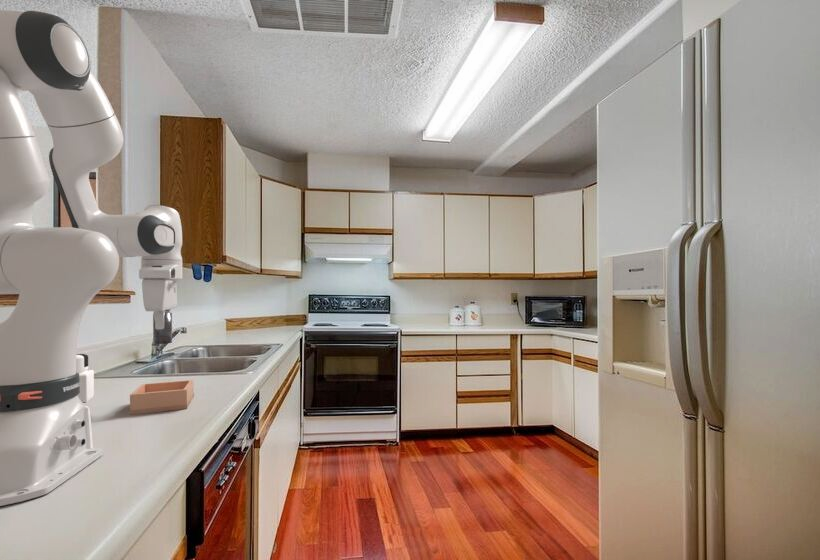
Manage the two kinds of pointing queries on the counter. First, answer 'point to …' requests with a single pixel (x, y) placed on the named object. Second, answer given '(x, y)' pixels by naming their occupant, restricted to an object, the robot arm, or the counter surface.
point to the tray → (162, 396)
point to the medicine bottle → (84, 378)
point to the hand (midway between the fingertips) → (162, 328)
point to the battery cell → (163, 330)
